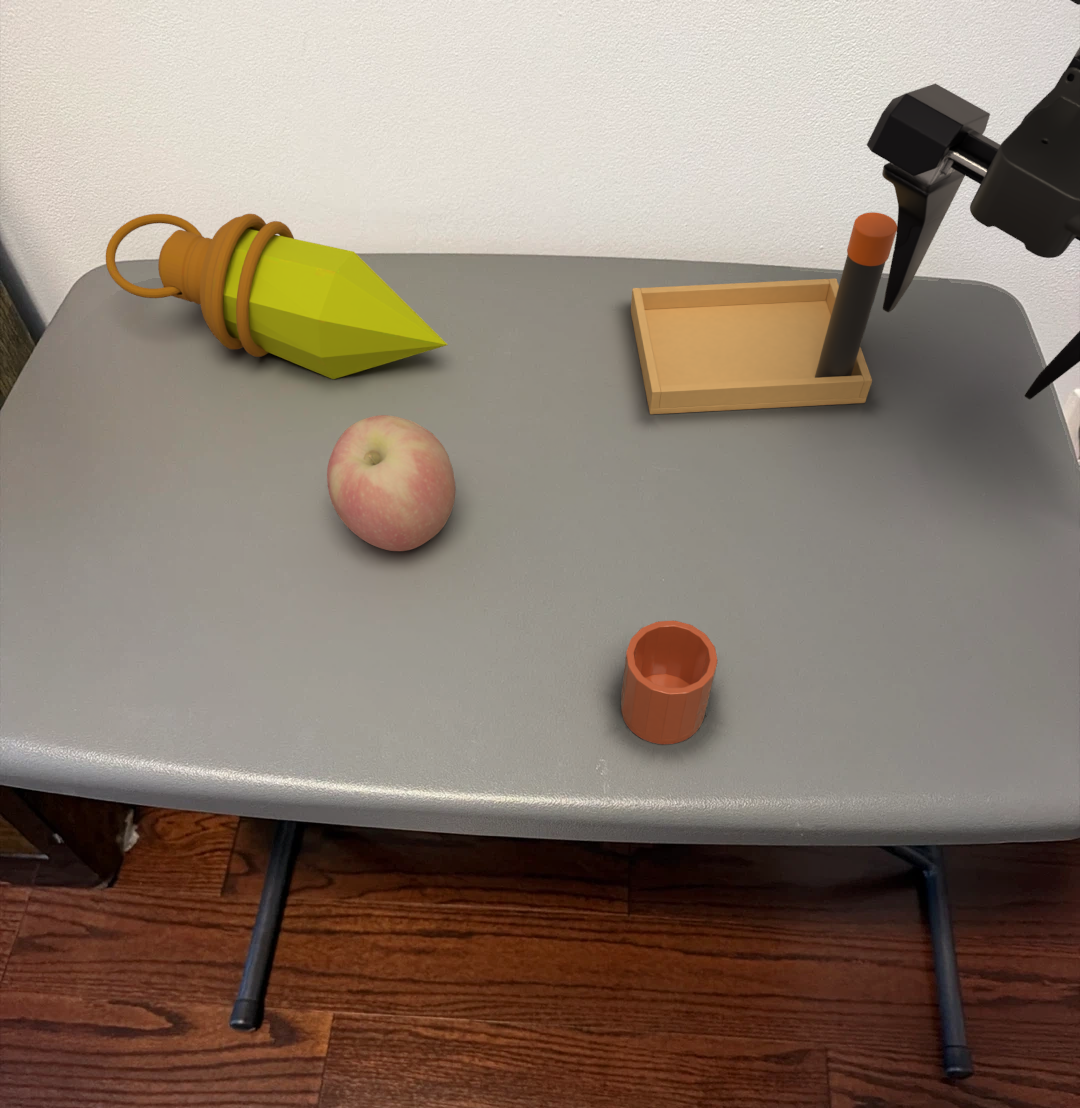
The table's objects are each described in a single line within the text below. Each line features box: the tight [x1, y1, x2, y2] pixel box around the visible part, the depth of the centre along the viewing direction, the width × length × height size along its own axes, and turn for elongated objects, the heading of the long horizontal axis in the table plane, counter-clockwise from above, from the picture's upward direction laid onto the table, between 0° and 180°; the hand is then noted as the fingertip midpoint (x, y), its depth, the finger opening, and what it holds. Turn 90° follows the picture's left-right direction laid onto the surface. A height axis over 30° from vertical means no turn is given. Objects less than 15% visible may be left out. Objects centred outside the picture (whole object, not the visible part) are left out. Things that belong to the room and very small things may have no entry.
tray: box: [630, 278, 873, 415], centre depth 77 cm, size 15×11×2 cm
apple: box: [326, 414, 456, 552], centre depth 66 cm, size 8×8×8 cm
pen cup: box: [620, 620, 718, 745], centre depth 60 cm, size 5×5×5 cm
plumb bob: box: [105, 213, 449, 380], centre depth 75 cm, size 9×9×25 cm
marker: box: [815, 211, 897, 378], centre depth 71 cm, size 3×3×12 cm
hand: (957, 352), depth 60 cm, fingers open, 9 cm apart
